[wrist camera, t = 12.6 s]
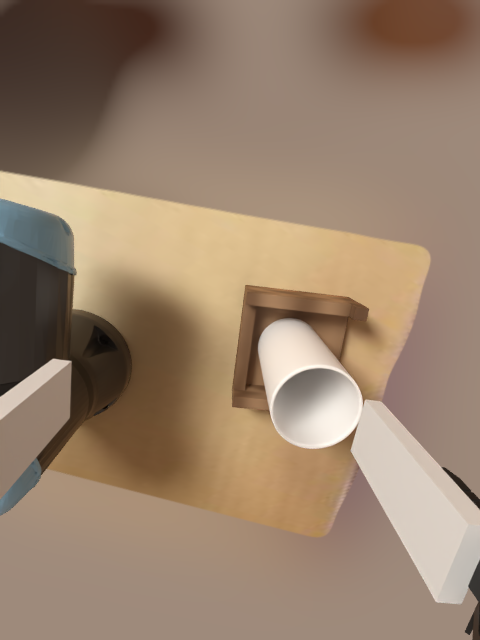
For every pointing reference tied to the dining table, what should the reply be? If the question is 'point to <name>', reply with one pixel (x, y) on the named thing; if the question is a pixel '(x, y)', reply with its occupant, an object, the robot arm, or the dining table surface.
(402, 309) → the dining table surface
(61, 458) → the dining table surface
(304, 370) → the cup
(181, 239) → the dining table surface
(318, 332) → the tray
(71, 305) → the robot arm
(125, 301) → the dining table surface
